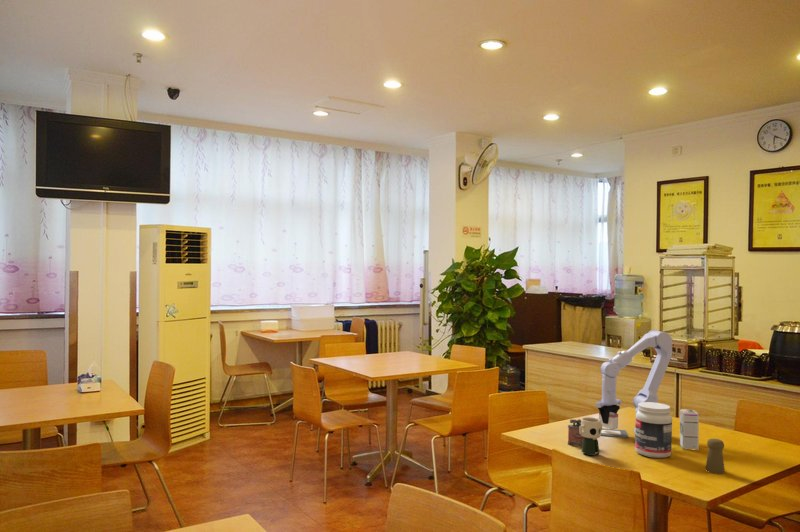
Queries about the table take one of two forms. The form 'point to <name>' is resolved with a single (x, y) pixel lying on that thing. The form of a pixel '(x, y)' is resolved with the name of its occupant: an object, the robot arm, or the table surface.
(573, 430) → the lighter
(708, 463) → the grey pepper shaker
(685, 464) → the table surface
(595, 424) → the character mug
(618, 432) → the mat
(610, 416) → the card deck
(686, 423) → the syrup box
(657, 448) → the supplement tub
